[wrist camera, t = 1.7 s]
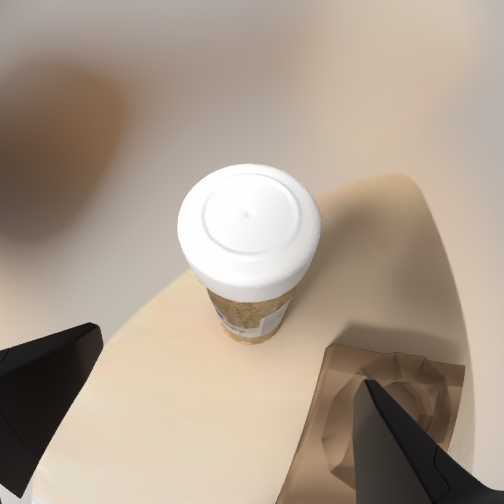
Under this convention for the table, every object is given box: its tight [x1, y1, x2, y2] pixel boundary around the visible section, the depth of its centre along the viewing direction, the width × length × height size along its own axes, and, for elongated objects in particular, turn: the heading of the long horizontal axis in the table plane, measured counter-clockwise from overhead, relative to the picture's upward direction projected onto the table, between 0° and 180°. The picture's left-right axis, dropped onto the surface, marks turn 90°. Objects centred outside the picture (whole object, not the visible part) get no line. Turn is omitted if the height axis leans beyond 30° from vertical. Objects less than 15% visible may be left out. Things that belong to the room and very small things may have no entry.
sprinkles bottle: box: [177, 164, 321, 344], centre depth 14 cm, size 5×5×14 cm
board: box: [275, 344, 465, 504], centre depth 14 cm, size 16×12×2 cm
